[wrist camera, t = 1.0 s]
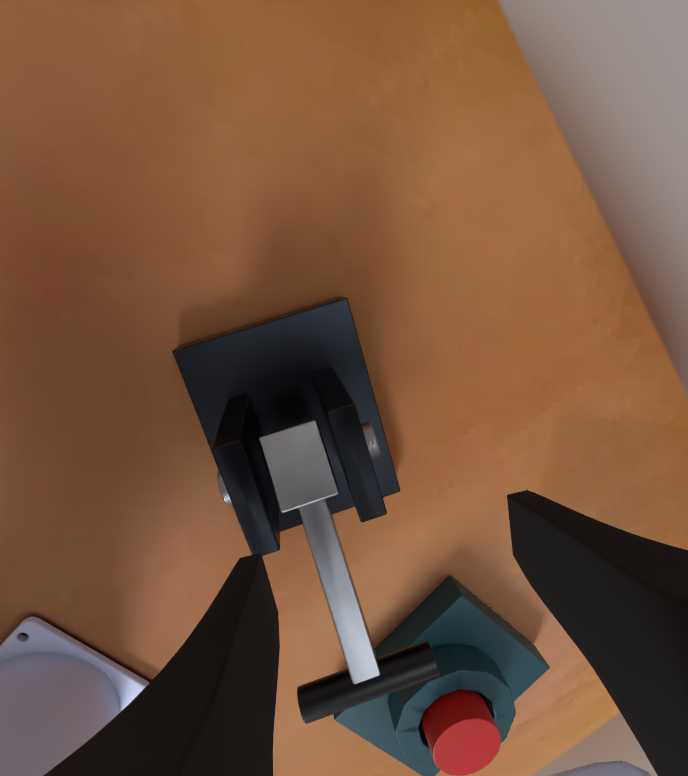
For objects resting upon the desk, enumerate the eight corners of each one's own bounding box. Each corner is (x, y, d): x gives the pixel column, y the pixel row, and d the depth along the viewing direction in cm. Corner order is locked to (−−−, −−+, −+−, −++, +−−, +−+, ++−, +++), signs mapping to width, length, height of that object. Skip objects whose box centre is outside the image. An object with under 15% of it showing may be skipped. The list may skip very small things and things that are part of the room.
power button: (452, 752, 26) (464, 786, 24) (408, 723, 25) (418, 756, 23) (499, 709, 25) (515, 740, 24) (456, 677, 24) (469, 707, 23)
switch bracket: (394, 481, 25) (443, 564, 18) (248, 529, 24) (238, 636, 17) (343, 296, 22) (376, 308, 15) (177, 346, 21) (130, 383, 14)
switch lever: (430, 656, 19) (447, 691, 16) (307, 701, 18) (305, 743, 16) (351, 407, 19) (356, 406, 17) (229, 446, 19) (216, 451, 16)
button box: (420, 752, 30) (440, 814, 26) (330, 693, 27) (338, 752, 24) (534, 645, 29) (569, 694, 25) (450, 575, 27) (476, 619, 23)
